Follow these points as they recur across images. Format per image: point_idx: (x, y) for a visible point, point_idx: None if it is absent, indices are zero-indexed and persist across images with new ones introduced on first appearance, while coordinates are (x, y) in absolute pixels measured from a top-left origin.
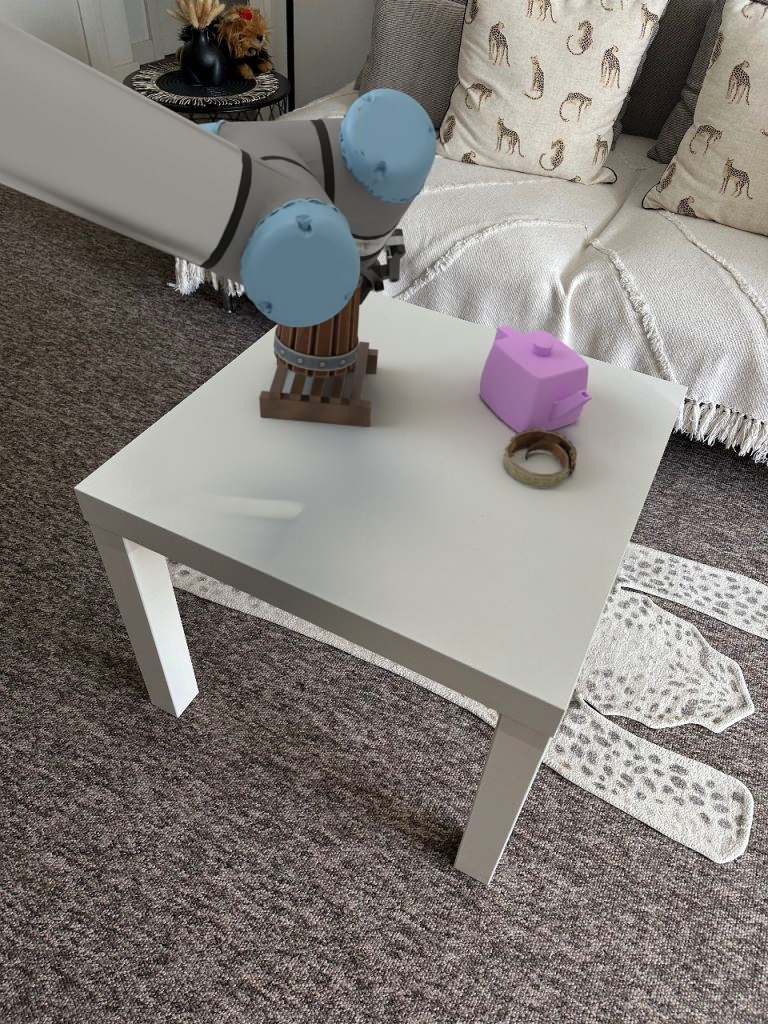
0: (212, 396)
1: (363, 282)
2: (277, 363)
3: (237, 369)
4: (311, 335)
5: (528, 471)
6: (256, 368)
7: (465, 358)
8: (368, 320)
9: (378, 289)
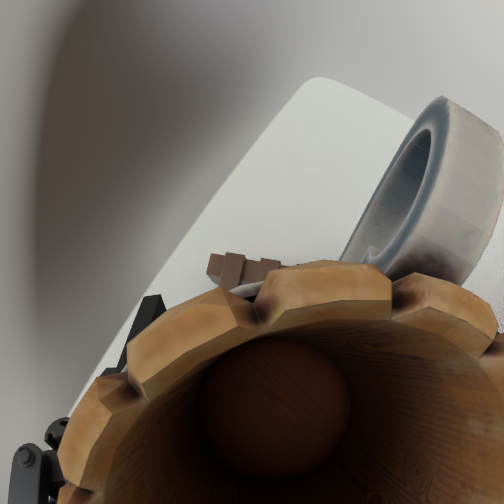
0: (116, 364)
1: None
2: (214, 282)
3: (151, 293)
4: None
5: None
6: (180, 291)
7: (498, 260)
8: (367, 152)
9: None
